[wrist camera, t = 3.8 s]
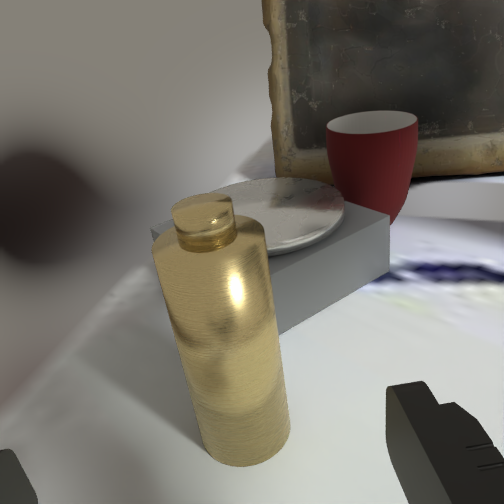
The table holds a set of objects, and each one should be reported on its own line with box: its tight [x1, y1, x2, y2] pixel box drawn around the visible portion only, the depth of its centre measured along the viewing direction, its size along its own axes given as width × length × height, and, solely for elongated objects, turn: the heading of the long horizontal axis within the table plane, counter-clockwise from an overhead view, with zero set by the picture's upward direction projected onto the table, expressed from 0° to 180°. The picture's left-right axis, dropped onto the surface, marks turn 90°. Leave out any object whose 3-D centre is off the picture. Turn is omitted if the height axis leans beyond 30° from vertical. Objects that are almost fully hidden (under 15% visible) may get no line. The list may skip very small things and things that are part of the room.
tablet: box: [262, 0, 504, 185], centre depth 52 cm, size 33×14×25 cm, turn 87°
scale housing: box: [150, 201, 390, 335], centre depth 39 cm, size 14×15×5 cm
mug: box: [326, 111, 418, 225], centre depth 45 cm, size 10×8×10 cm
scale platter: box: [210, 177, 345, 256], centre depth 37 cm, size 13×13×1 cm
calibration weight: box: [152, 193, 290, 467], centre depth 23 cm, size 5×5×14 cm
